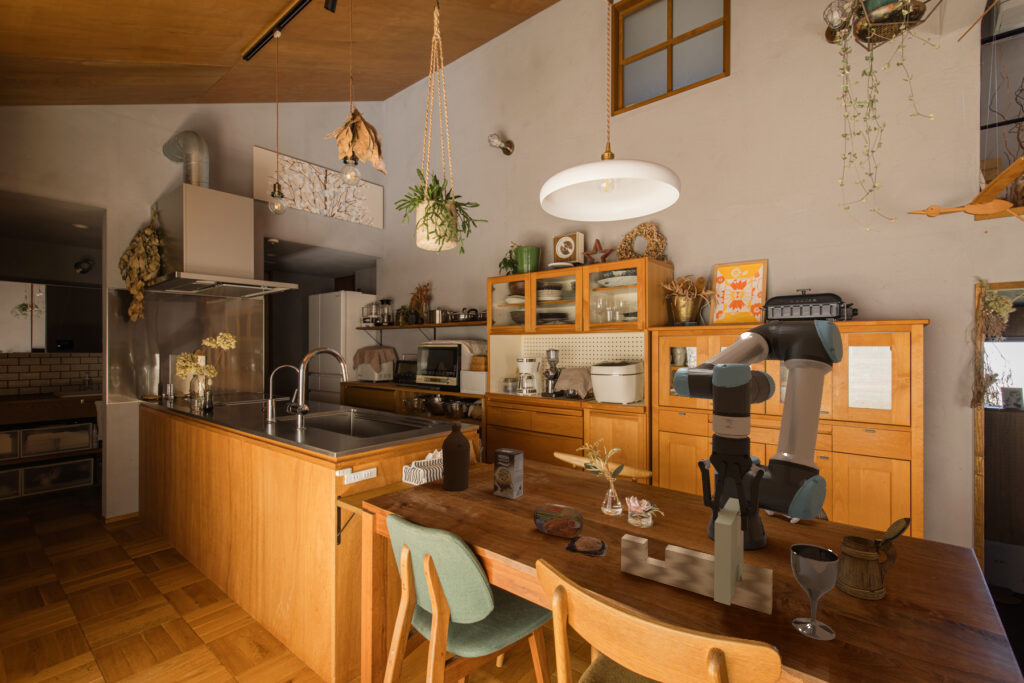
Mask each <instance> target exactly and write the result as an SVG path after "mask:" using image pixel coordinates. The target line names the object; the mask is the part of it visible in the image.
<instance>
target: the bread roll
mask: <svg viewBox="0 0 1024 683" xmlns="http://www.w3.org/2000/svg"><path fill="white" fill-rule="evenodd" d="M565 549H566V552H568V553H573V554H574V553H575V554H578V555H587V556H590V557H591V556H593V557H602V558H603V557H604V558H605V557H606V556H607V552H608V549H609V545H608V544H606V543H605V542H604V540H600V539H598V538H596V537H593V536H585V535H584V536H579V535H578V536H577V537H575V538H570V542H569V543H567V546H566V547H565Z"/></svg>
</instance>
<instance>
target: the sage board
mask: <svg viewBox="0 0 1024 683" xmlns="http://www.w3.org/2000/svg"><path fill="white" fill-rule="evenodd" d="M739 512H740V507H739V500H738V499H734V498H729V500H728V501H727V503H726V505H725V506H724V508H723V509H722V511H721V513H720V514H719V516H718V518H717V519H716V521H715V541H714V598H713V601H714V602H717V603H720V604H724V605H727V606H731V604H732V603H731V602H732V599H733V596H734V593H735V580H736V581H739V582H740V580H741V578H742V566H743V563H744V549H743V535H744V531H742V545H741V547H737V515H738V513H739Z"/></svg>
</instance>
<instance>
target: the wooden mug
mask: <svg viewBox="0 0 1024 683" xmlns="http://www.w3.org/2000/svg"><path fill="white" fill-rule="evenodd" d="M911 522H912V519H911V517H902V518H899V519H897V520H896V521H894V522H893V523H892V524H891V525H890V526H889V527H888V528H886V531H885V533H884V535H883V537H882V538H874V539H873V540H871V539H869V538H867V537H865V536H861V535H853V534H847V535H843V538H842V541H841V543H840V547H839V549H840V550H841V553H840V558H839V568H838V576H837V580H836V583H835V585H834V586H836V587H837V588H838V589H839V590H841V591H842V592H844V593H846V594H847V595H849V596H853V597H855V598H859V599H863V600H869V601H870V600H871V601H873V600H874V601H879V600H882V599H883V598H885V596H886V588H885V586H884V582H885V578H886V576H887V574H888V572H890V571H891V569H893V567H894V566H895V564H896V562H897V559H898V552H897V548H896V547H895V545H894V544H893V542H895V541H896V540H898V539H899V538H900V537H901V536H903V534H905V532H906V531H907V530H908V528H909V527H910V525H911ZM880 551H881V552H884V554H885V555H886V559H885V561H882V562H880V558H881V557H882V553H881V552H880Z"/></svg>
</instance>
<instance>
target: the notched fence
mask: <svg viewBox="0 0 1024 683" xmlns="http://www.w3.org/2000/svg"><path fill="white" fill-rule="evenodd" d="M620 543H621V544H620V545H621V546H620V547H621V548H620V549H621V550H620V551H621V552H620V556H621V557H620V560H621V562H620V568H621V569H620V571H621V572H623V573H627V574H630V575H633V576H637V577H641V578H644V579H646V580H647V579H648V580H651V581H655V582H658V583H661V584H665V585H668V586H671V587H675V588H679V589H682V590H685V591H689V592H692V593H696V594H697V595H698V594H699V595H702V596H706V597H709V598H713V599H714V555H713V554H709V553H705V552H701V551H696V550H693V549H690V548H684V547H681V546H677V545H671V544H668V545H666V547H665V549H664V557H665V558H664V560H661V559H657V558H656V559H655V558H652V557H650V556H648V555H649V550H648V549H649V547H648V546H649V544H648V543H649V540H648V539H647V538H643V537H640V536H635V535H632V534H628V533H625V534H624V535H623V536H622V537H621V542H620ZM773 573H774V572H773V569H769V568H766V567H762V566H757V565H754V564H750V563H746V562H743V566H742V574H741V581H740V580H739V581H736V580H735V593H734V596H733V599H732V602H731V604H733V605H737V606H740V607H744V608H747V609H751V610H754V611H757V612H760V613H764V614H767V615H772V613H773V612H772V610H773V585H774V584H773V579H774V578H773V576H774V575H773Z"/></svg>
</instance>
